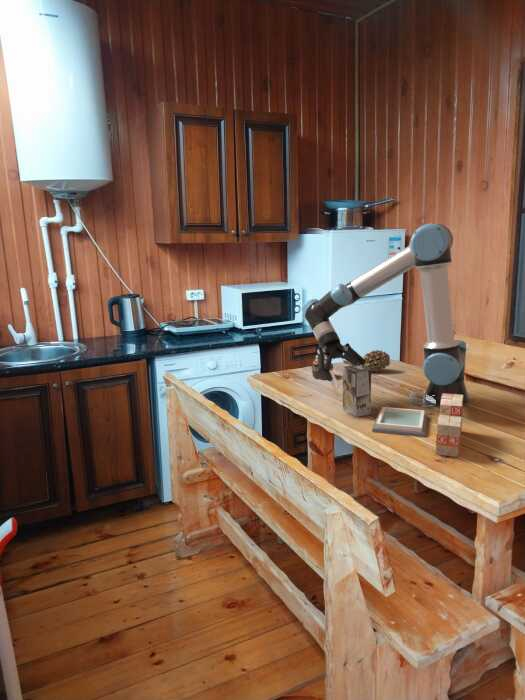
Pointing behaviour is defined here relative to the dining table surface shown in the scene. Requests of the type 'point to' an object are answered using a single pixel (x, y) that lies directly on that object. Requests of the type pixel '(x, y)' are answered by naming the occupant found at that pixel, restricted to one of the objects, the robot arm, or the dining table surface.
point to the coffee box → (357, 390)
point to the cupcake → (315, 369)
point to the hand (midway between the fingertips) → (352, 384)
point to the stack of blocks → (449, 425)
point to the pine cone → (374, 360)
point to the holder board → (401, 421)
